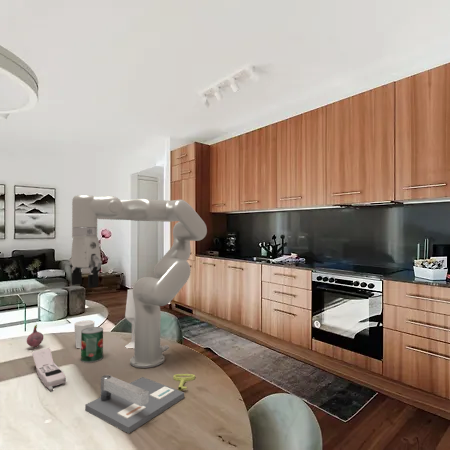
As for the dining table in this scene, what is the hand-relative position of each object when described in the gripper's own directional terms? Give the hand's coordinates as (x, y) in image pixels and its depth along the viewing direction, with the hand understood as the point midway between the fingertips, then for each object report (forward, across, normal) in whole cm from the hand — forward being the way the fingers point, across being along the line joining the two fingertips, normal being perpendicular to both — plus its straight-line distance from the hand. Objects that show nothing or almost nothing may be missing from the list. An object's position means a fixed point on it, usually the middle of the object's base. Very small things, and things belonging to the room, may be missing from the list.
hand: (84, 285), depth 101 cm
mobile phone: (+32, +14, +4) cm, 35 cm away
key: (+32, -26, -19) cm, 45 cm away
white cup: (+32, +32, -18) cm, 48 cm away
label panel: (+31, -24, -2) cm, 39 cm away
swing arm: (+29, -24, +3) cm, 38 cm away
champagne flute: (+32, +15, -30) cm, 46 cm away
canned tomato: (+32, +16, -12) cm, 38 cm away
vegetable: (+31, +46, -5) cm, 56 cm away
